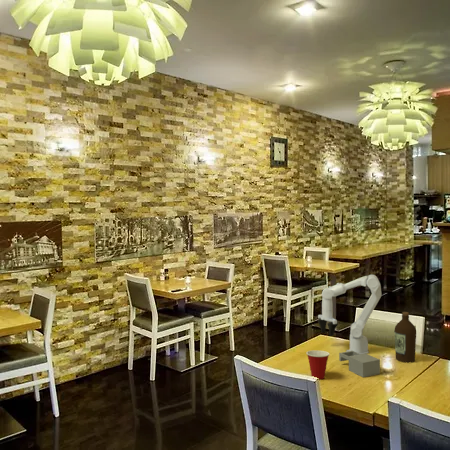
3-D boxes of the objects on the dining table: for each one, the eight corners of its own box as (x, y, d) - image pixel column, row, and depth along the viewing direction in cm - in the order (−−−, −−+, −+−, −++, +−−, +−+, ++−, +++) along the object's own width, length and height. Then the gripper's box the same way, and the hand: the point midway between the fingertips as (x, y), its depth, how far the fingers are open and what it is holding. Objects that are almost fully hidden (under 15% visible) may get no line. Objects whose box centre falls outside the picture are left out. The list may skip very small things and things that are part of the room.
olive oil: (404, 355, 238) (404, 309, 237) (420, 361, 228) (421, 313, 227) (389, 358, 233) (390, 311, 232) (405, 364, 224) (405, 315, 223)
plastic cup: (328, 373, 213) (328, 348, 213) (331, 382, 203) (331, 356, 202) (305, 372, 215) (305, 348, 214) (307, 381, 204) (307, 355, 203)
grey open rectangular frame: (353, 361, 229) (353, 348, 228) (379, 374, 212) (379, 359, 211) (337, 364, 225) (337, 351, 224) (363, 377, 207) (363, 362, 207)
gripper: (313, 307, 251) (313, 331, 252) (329, 313, 238) (329, 338, 239) (323, 306, 254) (324, 329, 255) (340, 311, 241) (340, 336, 242)
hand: (327, 333), depth 247 cm, fingers open, 7 cm apart
